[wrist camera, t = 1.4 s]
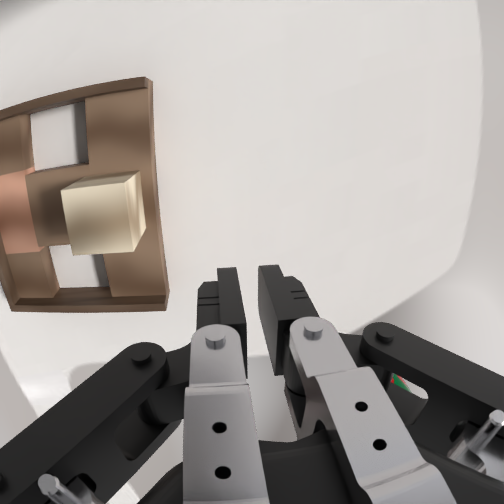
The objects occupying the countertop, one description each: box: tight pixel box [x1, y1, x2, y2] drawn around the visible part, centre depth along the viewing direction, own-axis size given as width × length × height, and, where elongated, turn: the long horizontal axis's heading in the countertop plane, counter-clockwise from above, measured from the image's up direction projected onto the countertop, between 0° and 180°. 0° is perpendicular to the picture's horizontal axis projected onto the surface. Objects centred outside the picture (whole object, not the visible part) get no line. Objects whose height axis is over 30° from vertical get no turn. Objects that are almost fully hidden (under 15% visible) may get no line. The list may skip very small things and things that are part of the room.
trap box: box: [0, 77, 170, 313], centre depth 24 cm, size 20×18×4 cm
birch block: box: [61, 170, 146, 255], centre depth 22 cm, size 5×5×5 cm
